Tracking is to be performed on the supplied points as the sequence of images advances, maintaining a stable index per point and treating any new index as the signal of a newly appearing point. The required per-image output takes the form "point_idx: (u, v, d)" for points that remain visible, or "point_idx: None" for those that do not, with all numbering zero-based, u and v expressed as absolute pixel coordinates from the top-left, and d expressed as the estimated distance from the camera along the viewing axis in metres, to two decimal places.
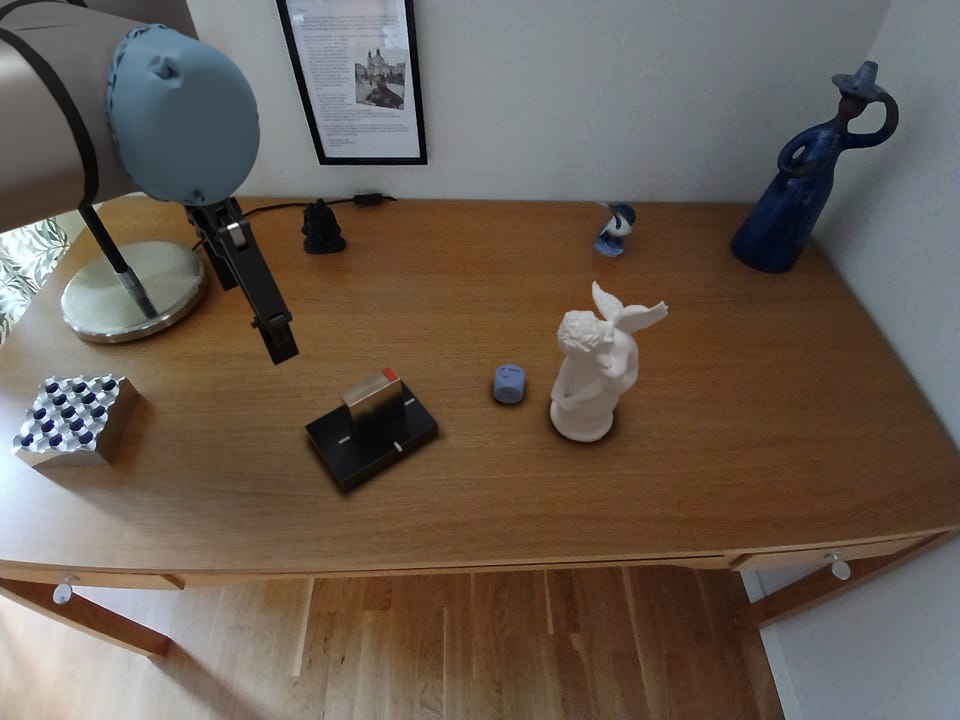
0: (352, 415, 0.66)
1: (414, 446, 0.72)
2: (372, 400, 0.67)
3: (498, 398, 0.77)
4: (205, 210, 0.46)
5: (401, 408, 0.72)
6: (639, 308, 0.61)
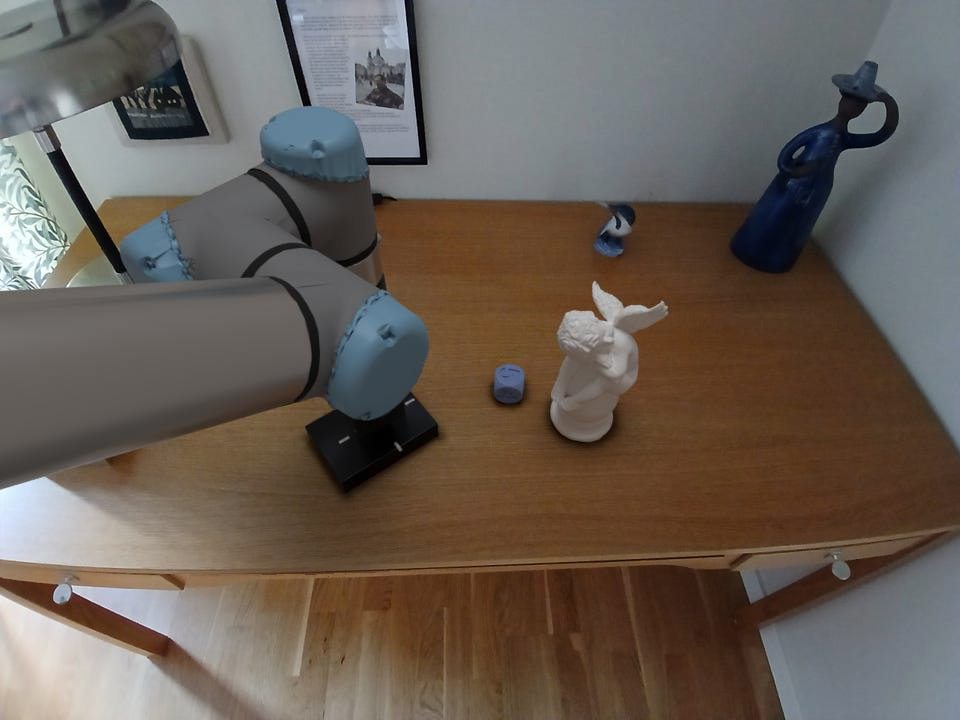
0: None
1: (414, 446, 0.72)
2: None
3: (498, 398, 0.77)
4: None
5: (401, 408, 0.72)
6: (639, 308, 0.61)
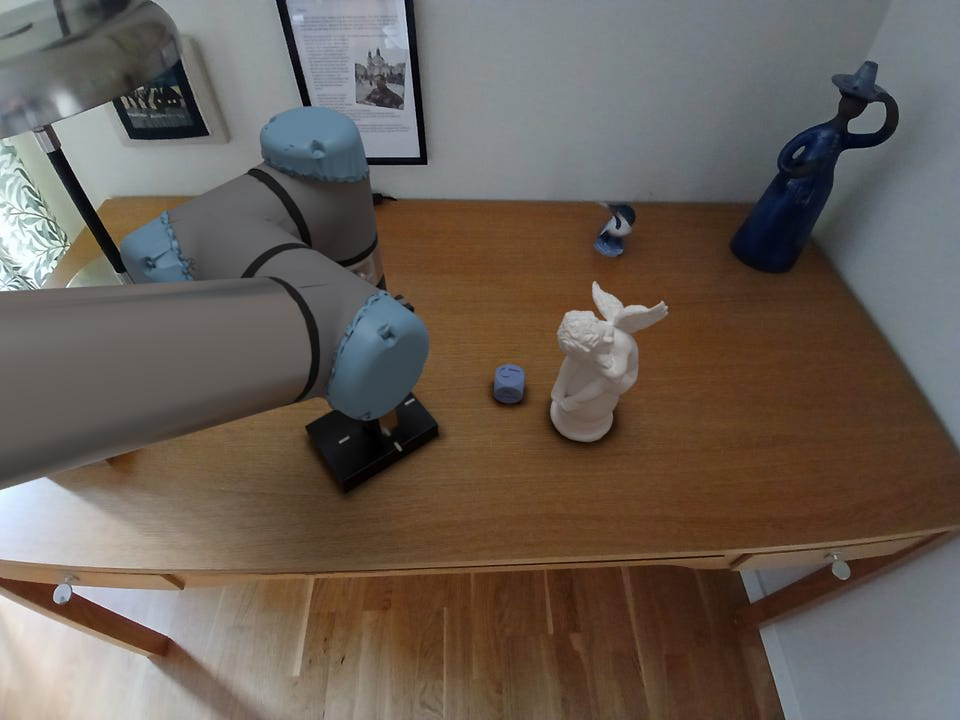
0: None
1: (414, 446, 0.72)
2: None
3: (498, 398, 0.77)
4: None
5: (380, 435, 0.69)
6: (639, 308, 0.61)
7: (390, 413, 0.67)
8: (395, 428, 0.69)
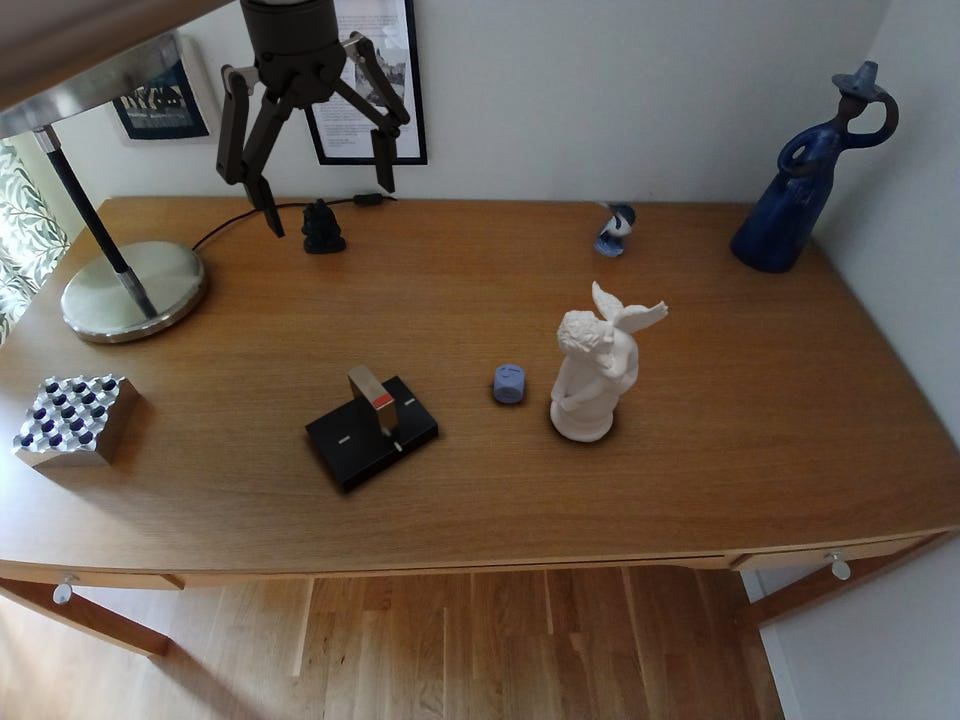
0: (349, 382, 0.69)
1: (414, 446, 0.72)
2: (360, 393, 0.67)
3: (498, 398, 0.77)
4: None
5: (381, 435, 0.69)
6: (639, 308, 0.61)
7: (390, 413, 0.67)
8: (395, 428, 0.69)
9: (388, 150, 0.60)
